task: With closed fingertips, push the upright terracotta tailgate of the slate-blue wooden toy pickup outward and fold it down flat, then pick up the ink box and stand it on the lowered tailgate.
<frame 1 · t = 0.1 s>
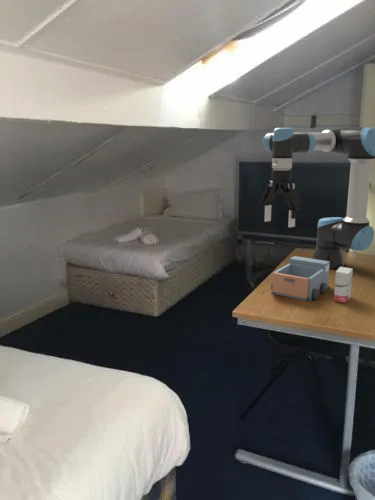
hand: (279, 224, 185), 28 cm above the table, fingers open, 13 cm apart
ink box: (342, 299, 183), on the table
pickup bed: (290, 297, 185), on the table
tailgate: (289, 285, 182), point 5 cm above the table, hinge at 0.0°
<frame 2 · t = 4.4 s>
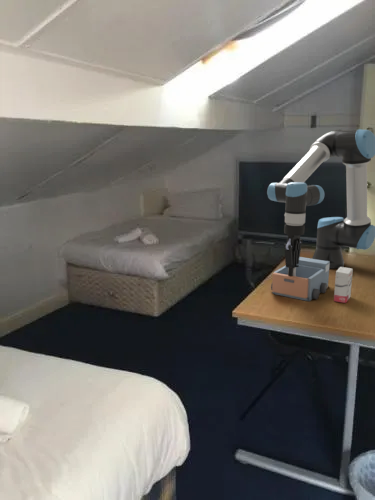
hand: (291, 283, 183), 6 cm above the table, fingers closed
tailgate: (289, 285, 182), point 5 cm above the table, hinge at 3.9°, touching gripper
everything else where it was.
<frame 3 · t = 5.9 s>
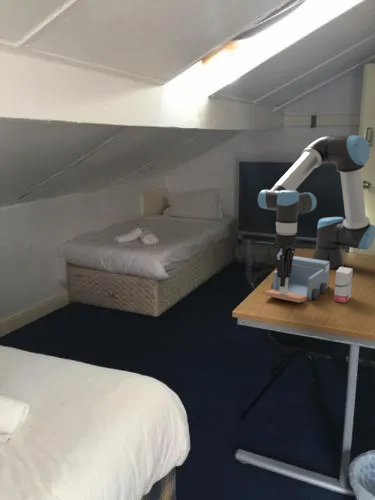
hand: (283, 293, 178), 4 cm above the table, fingers closed
tailgate: (285, 296, 180), point 2 cm above the table, hinge at 81.0°, touching gripper
everything else where it was.
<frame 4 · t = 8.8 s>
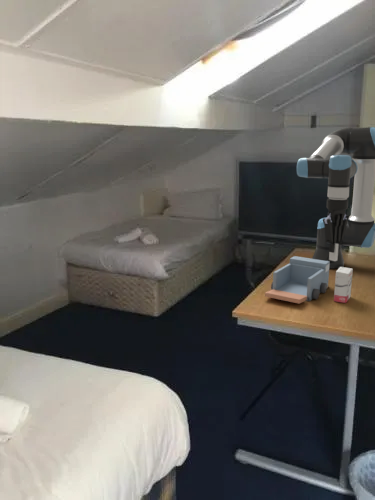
hand: (333, 260, 178), 16 cm above the table, fingers closed
tailgate: (285, 296, 180), point 2 cm above the table, hinge at 84.1°
everything else where it was.
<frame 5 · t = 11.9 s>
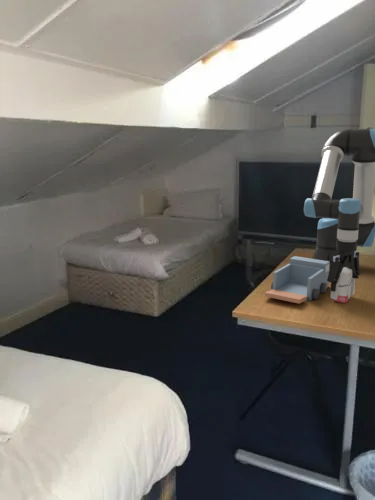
hand: (342, 296, 183), 1 cm above the table, fingers closed on ink box, 9 cm apart
ink box: (342, 299, 183), on the table, touching gripper
everything else where it was.
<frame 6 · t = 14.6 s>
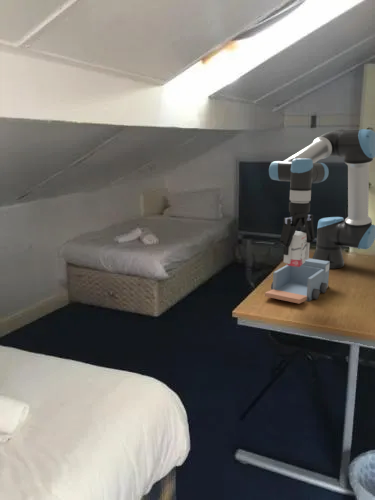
hand: (296, 260, 177), 16 cm above the table, fingers closed on ink box, 9 cm apart
ink box: (296, 264, 177), point 15 cm above the table, touching gripper
everything else where it was.
when the fingers open (5 cm above the table, at t = 17.5 s): ink box stays where it is, resting on tailgate.
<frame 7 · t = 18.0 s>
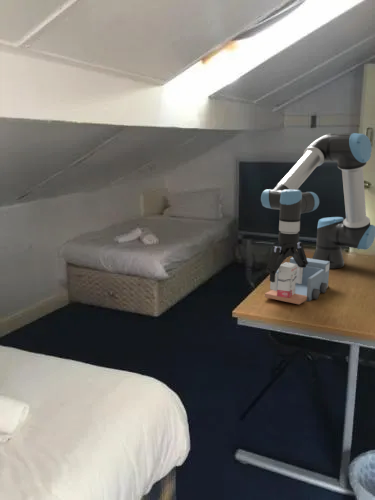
hand: (286, 286, 179), 6 cm above the table, fingers open, 13 cm apart
ink box: (286, 295, 180), point 2 cm above the table, touching tailgate
tailgate: (285, 296, 180), point 2 cm above the table, hinge at 86.5°, touching ink box
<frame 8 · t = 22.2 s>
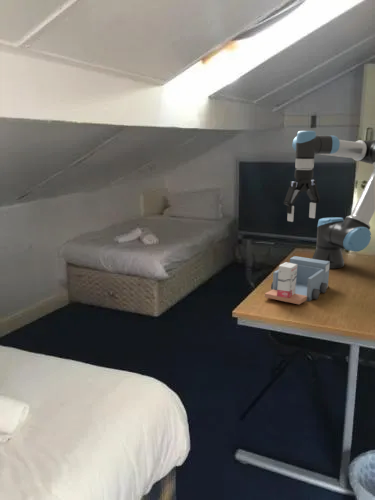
hand: (301, 219, 201), 27 cm above the table, fingers open, 13 cm apart
nothing on the table moved.
at the end: tailgate at +87° (first picture: +0°); ink box touching tailgate; ink box tilted 3° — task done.
